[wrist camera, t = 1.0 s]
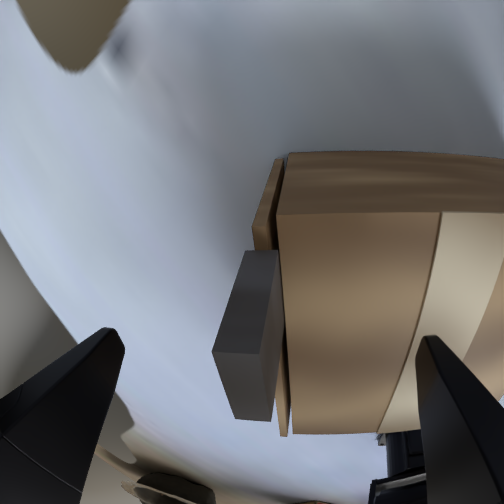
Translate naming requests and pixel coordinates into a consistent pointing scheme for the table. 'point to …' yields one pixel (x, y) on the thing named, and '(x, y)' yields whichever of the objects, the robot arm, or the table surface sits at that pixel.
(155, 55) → the table surface
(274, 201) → the side flap
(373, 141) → the table surface
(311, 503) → the food packaging
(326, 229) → the carton
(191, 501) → the stone bowl
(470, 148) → the table surface
